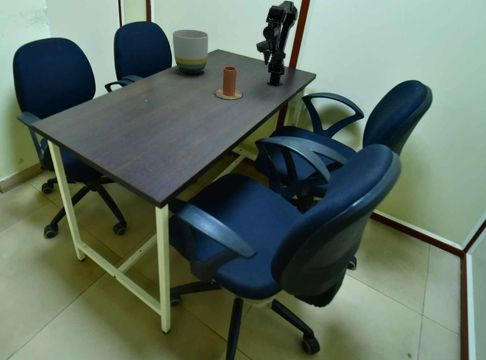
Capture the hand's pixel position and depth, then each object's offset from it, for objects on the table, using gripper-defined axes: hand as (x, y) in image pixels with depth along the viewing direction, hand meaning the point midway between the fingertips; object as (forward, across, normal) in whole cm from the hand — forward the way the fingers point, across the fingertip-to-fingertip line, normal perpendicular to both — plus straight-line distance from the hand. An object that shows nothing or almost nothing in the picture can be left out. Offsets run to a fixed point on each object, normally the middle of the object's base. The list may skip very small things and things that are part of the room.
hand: (269, 67), depth 155 cm
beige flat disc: (+13, -1, -22) cm, 25 cm away
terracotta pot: (+13, -1, -22) cm, 25 cm away
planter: (+13, -37, -33) cm, 51 cm away
